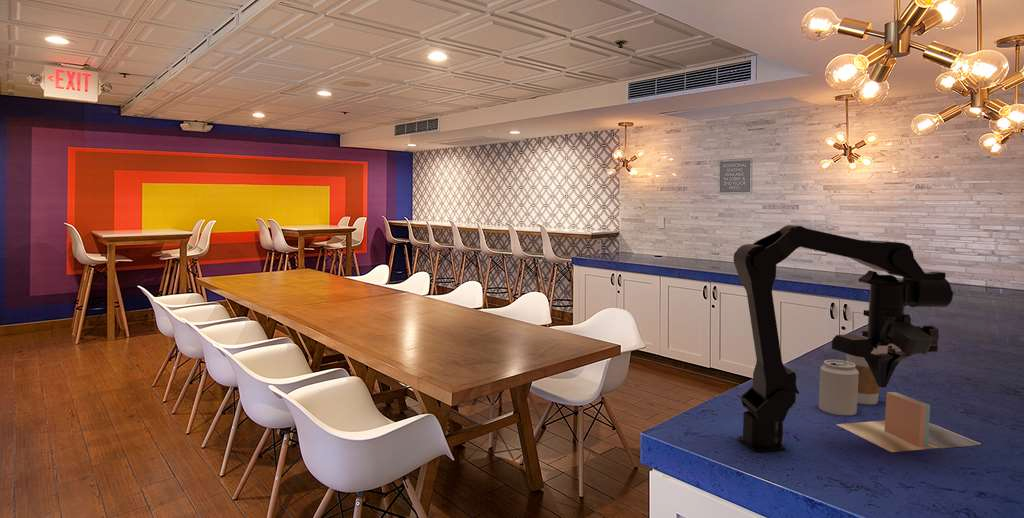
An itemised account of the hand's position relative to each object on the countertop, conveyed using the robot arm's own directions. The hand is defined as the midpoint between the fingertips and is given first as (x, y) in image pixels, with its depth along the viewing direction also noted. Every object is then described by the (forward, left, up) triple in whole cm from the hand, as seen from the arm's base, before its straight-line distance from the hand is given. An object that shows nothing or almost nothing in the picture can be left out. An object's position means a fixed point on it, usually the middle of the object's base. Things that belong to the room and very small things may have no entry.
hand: (881, 386), depth 112 cm
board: (+8, +2, -12) cm, 14 cm away
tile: (+6, 0, -11) cm, 12 cm away
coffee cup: (+16, +21, -12) cm, 29 cm away
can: (+5, +17, -12) cm, 21 cm away
